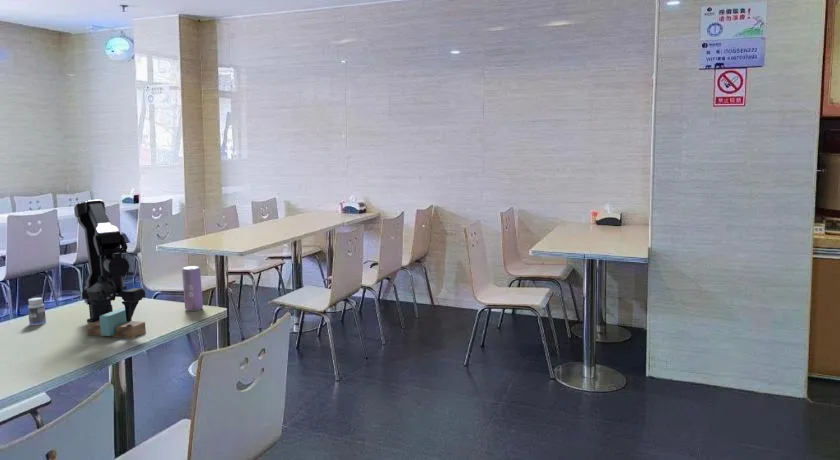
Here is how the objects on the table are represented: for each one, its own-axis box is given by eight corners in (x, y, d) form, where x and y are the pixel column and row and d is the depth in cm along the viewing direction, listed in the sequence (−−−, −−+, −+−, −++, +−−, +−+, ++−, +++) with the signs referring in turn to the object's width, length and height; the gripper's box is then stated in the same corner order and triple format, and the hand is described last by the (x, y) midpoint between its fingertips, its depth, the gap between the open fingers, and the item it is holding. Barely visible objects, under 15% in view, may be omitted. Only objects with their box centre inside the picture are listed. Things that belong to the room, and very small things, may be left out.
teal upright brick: (101, 335, 192) (99, 316, 191) (124, 326, 201) (122, 307, 200) (109, 335, 191) (107, 316, 190) (132, 326, 201) (130, 308, 200)
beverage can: (205, 307, 226) (202, 265, 224) (198, 311, 220) (195, 269, 218) (189, 307, 226) (186, 265, 224) (182, 311, 221) (178, 269, 219)
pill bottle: (26, 324, 208) (23, 300, 207) (39, 321, 213) (36, 296, 212) (36, 326, 207) (33, 301, 206) (49, 322, 211) (46, 297, 210)
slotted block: (88, 334, 195) (87, 324, 195) (102, 329, 201) (101, 319, 201) (132, 337, 191) (131, 327, 191) (145, 331, 197) (145, 321, 197)
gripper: (65, 275, 188) (70, 326, 190) (118, 277, 183) (123, 330, 186) (93, 268, 199) (97, 316, 201) (144, 270, 194) (148, 319, 196)
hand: (116, 320), depth 196 cm, fingers open, 9 cm apart
